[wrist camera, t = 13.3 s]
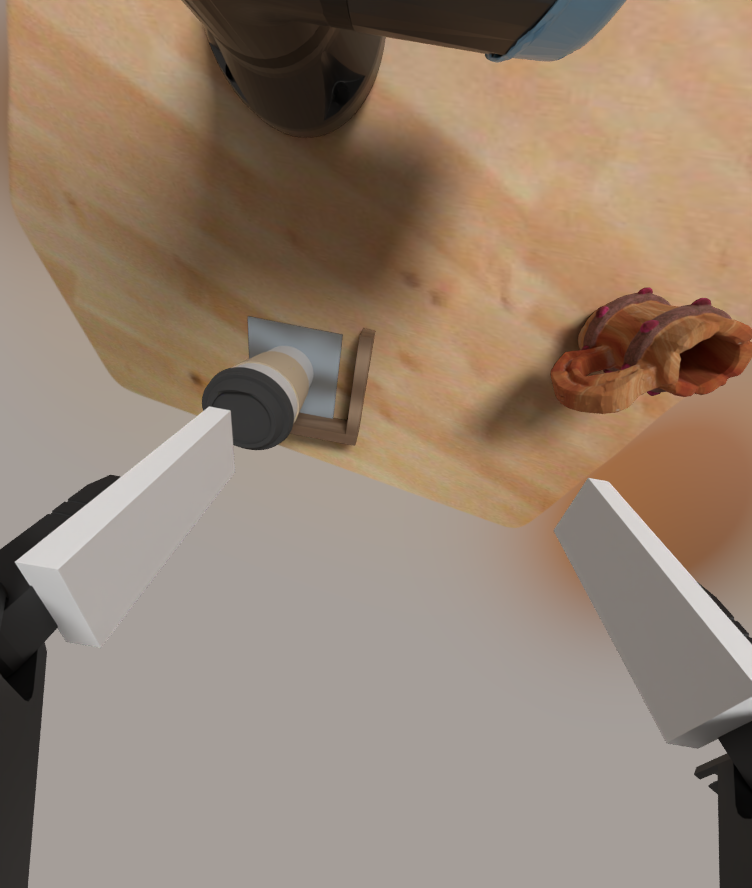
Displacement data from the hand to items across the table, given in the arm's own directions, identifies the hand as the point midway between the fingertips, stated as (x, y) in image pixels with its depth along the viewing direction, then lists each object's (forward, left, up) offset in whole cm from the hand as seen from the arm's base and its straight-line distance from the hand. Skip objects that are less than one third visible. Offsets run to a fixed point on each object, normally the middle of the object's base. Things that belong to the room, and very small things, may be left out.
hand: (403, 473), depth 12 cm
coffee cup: (+9, -14, -32) cm, 36 cm away
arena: (+9, -12, -32) cm, 35 cm away
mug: (-2, +22, -32) cm, 39 cm away
